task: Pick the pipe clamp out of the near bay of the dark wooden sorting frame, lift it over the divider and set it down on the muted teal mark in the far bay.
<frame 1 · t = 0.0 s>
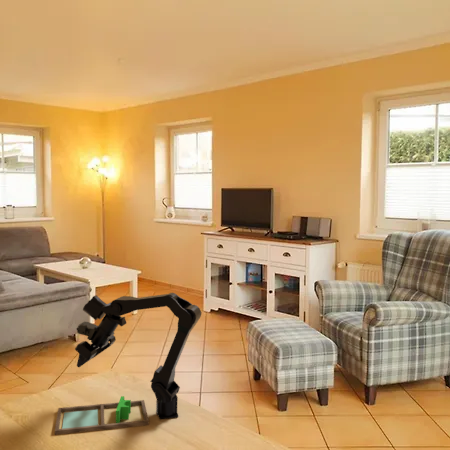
hand: (84, 362, 170), 15 cm above the table, tool tilted 35°, fingers open, 9 cm apart
sorting frame: (102, 417, 161), on the table
pipe clamp: (123, 416, 162), on the table
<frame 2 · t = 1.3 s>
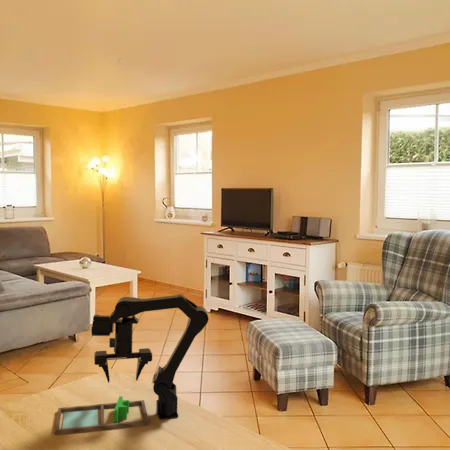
hand: (122, 381, 162), 12 cm above the table, tool pointing down, fingers open, 9 cm apart
nothing on the table moved.
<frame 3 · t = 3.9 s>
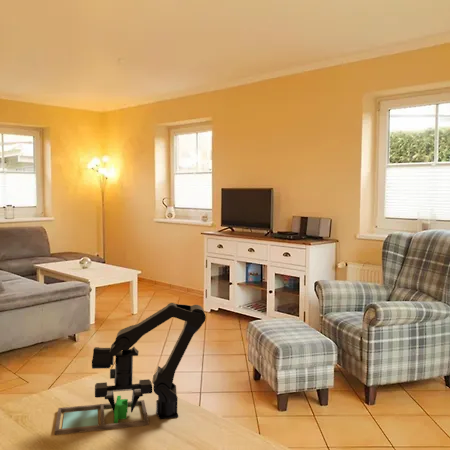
hand: (123, 412, 162), 1 cm above the table, tool pointing down, fingers open, 5 cm apart
nothing on the table moved.
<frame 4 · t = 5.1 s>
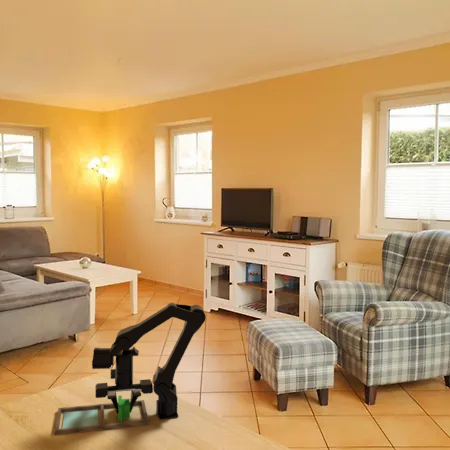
hand: (123, 412, 162), 1 cm above the table, tool pointing down, fingers closed on pipe clamp, 4 cm apart
pipe clamp: (123, 415, 163), on the table, touching gripper
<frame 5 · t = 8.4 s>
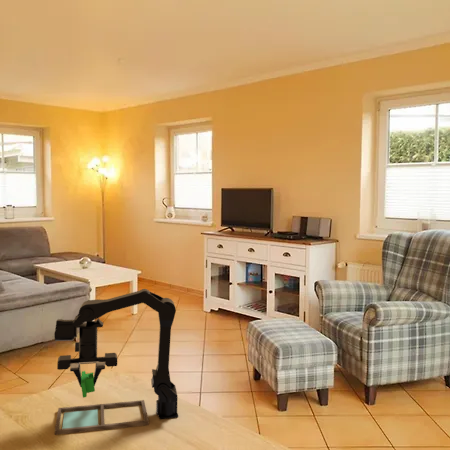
hand: (87, 386, 158), 11 cm above the table, tool pointing down, fingers closed on pipe clamp, 4 cm apart
pipe clamp: (88, 390, 159), point 10 cm above the table, touching gripper
when the fingers open (3 cm above the table, at t = 12.0 s): pipe clamp stays where it is, resting on sorting frame.
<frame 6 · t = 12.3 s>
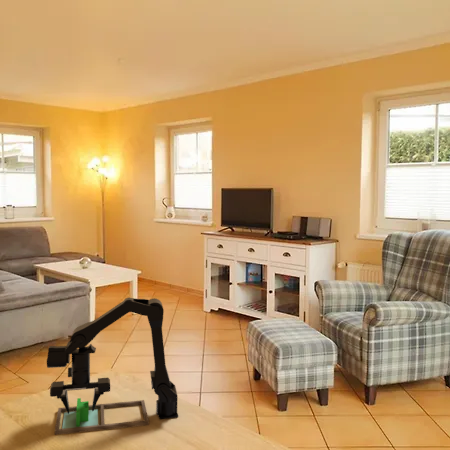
hand: (80, 411, 158), 3 cm above the table, tool pointing down, fingers open, 7 cm apart
pipe clamp: (82, 418, 159), resting on sorting frame
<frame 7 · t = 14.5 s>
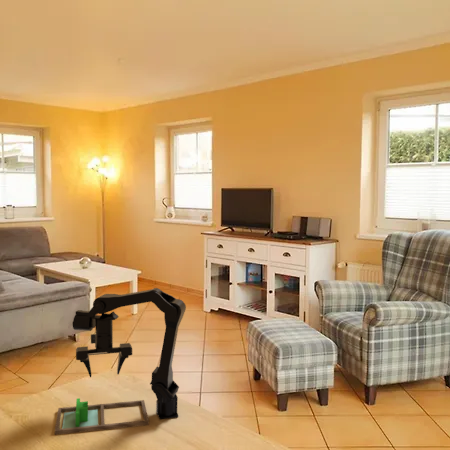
hand: (104, 375, 167), 12 cm above the table, tool pointing down, fingers open, 9 cm apart
nothing on the table moved.
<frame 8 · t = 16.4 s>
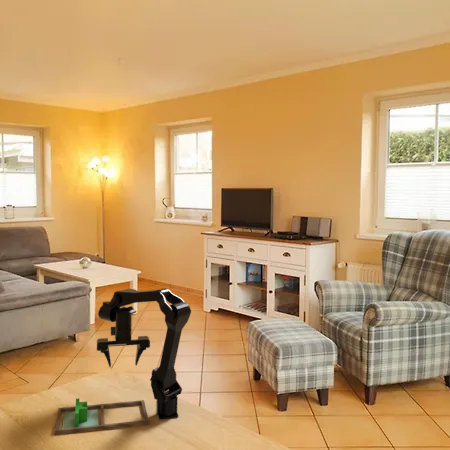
hand: (123, 366, 175), 12 cm above the table, tool pointing down, fingers open, 9 cm apart
nothing on the table moved.
at the end: pipe clamp inside the target area on the sorting frame (0.5 cm from its centre), point 0.1 cm above the sorting frame's base; the gripper is holding nothing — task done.
